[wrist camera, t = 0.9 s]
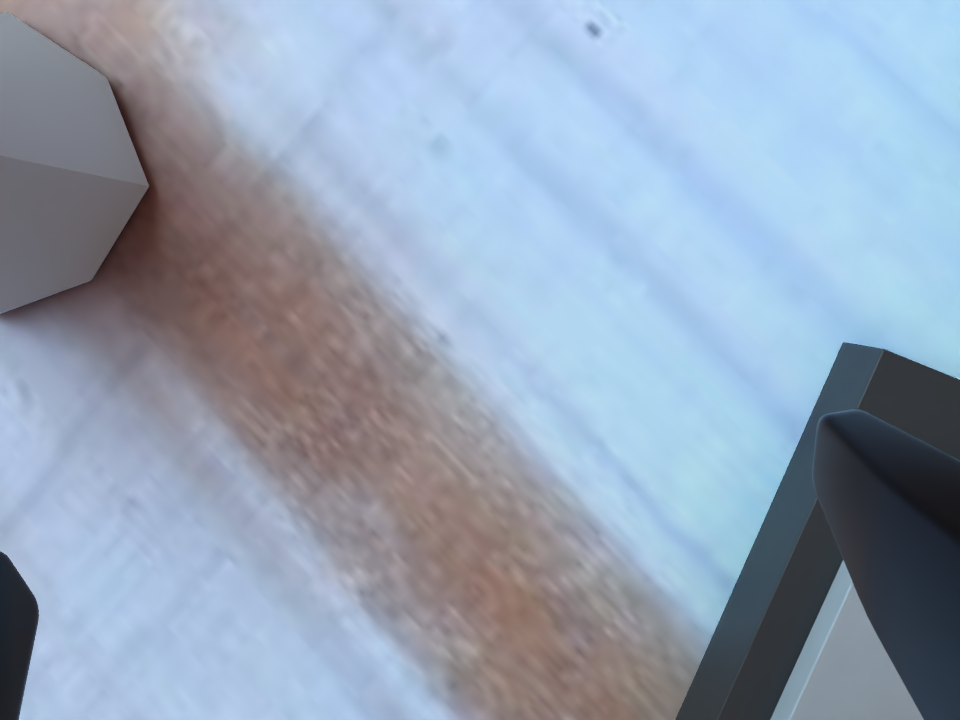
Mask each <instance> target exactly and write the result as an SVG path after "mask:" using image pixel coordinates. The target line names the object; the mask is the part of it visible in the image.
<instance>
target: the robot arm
mask: <svg viewBox="0 0 960 720" xmlns="http://www.w3.org/2000/svg"><path fill="white" fill-rule="evenodd" d="M812 477H813V484H814V488H815V491H816V494H817V497H818V499H819V502H820V504H821V507H822V509H823V511H824V514H825V516H826V519H827V521H828V524H829V526H830V528H831V531H832V533H833V536H834V538H835V541H836V543H837V545H838V548H839V550H840V553H841V555H842V558H843V560H844V562H845V565H846V567H847V570H848V572H849V575H850V577H851V579H852V582H853V584H854V587H855V589H856V592H857V594H858V596H859V599H860V601H861V603H862V605H863V608H864V610H865V612H866V615H867V617H868V619H869V620H870V622H871V624H872V626H873V628H874V630H875V632H876V634H877V636H878V638H879V640H880V641H881V643H882V645H883V647H884V649H885V650H886V652H887V654H888V656H889V658H890V659H891V661H892V663H893V665H894V667H895V669H896V670H897V672H898V674H899V676H900V678H901V679H902V681H903V683H904V685H905V687H906V688H907V690H908V692H909V694H910V696H911V697H912V699H913V701H914V703H915V705H916V707H917V708H918V710H919V712H920V714H921V716H922V717H923V719H924V720H960V460H958V459H956V458H954V457H952V456H950V455H948V454H946V453H944V452H942V451H940V450H938V449H937V448H935V447H933V446H931V445H929V444H927V443H925V442H923V441H921V440H919V439H917V438H915V437H913V436H911V435H909V434H908V433H906V432H904V431H902V430H900V429H898V428H896V427H894V426H892V425H890V424H888V423H886V422H884V421H882V420H881V419H879V418H877V417H875V416H873V415H871V414H869V413H867V412H865V411H862V410H858V409H852V410H846V411H840V412H834V413H828V414H825V415H823V416H822V417H821V418H820V419H819V421H818V424H817V430H816V439H815V449H814V459H813V468H812ZM38 618H39V610H38V604H37V601H36V598H35V597H34V595H33V593H32V592H31V590H30V589H29V587H28V586H27V584H26V583H25V581H24V580H23V578H22V577H21V575H20V574H19V572H18V571H17V569H16V568H15V566H14V565H13V563H12V562H11V560H10V559H9V558H8V556H7V555H5V554H4V553H2V552H0V720H19V715H20V710H21V705H22V700H23V695H24V690H25V685H26V680H27V675H28V670H29V665H30V660H31V655H32V650H33V645H34V640H35V635H36V630H37V625H38Z"/></svg>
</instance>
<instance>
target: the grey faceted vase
mask: <svg viewBox="0 0 960 720" xmlns="http://www.w3.org/2000/svg"><path fill="white" fill-rule="evenodd" d="M148 187H149V185H148V182H147V179H146V177H145V174H144V172H143V169H142V167H141V164H140V161H139V159H138V156H137V154H136V151H135V149H134V146H133V144H132V141H131V138H130V136H129V133H128V131H127V128H126V126H125V123H124V120H123V118H122V115H121V113H120V110H119V108H118V105H117V103H116V100H115V97H114V95H113V92H112V90H111V87H110V85H109V82H108V79H107V77H105V76H104V75H102V74H101V73H99V72H98V71H96V70H95V69H93V68H92V67H90V66H89V65H87V64H86V63H84V62H83V61H81V60H80V59H78V58H77V57H75V56H74V55H72V54H71V53H69V52H68V51H66V50H65V49H63V48H62V47H60V46H58V45H57V44H55V43H54V42H52V41H51V40H49V39H48V38H46V37H45V36H43V35H42V34H40V33H39V32H37V31H36V30H34V29H33V28H31V27H30V26H28V25H27V24H25V23H24V22H22V21H21V20H19V19H18V18H16V17H15V16H13V15H11V14H10V13H8V12H6V13H0V314H1V313H4V312H7V311H10V310H12V309H15V308H18V307H20V306H23V305H26V304H29V303H31V302H34V301H37V300H40V299H42V298H45V297H48V296H51V295H53V294H56V293H59V292H61V291H64V290H67V289H70V288H72V287H75V286H78V285H81V284H83V283H86V282H89V281H92V279H93V277H94V276H95V274H96V272H97V271H98V269H99V267H100V266H101V264H102V263H103V261H104V259H105V258H106V256H107V254H108V253H109V251H110V249H111V248H112V246H113V245H114V243H115V241H116V240H117V238H118V236H119V235H120V233H121V231H122V230H123V228H124V227H125V225H126V223H127V222H128V220H129V218H130V217H131V215H132V213H133V212H134V210H135V209H136V207H137V205H138V204H139V202H140V200H141V199H142V197H143V195H144V194H145V192H146V191H147V189H148Z"/></svg>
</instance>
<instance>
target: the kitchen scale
mask: <svg viewBox="0 0 960 720" xmlns="http://www.w3.org/2000/svg"><path fill="white" fill-rule="evenodd" d="M852 409H858V410H862V411H865V412H867V413H869V414H871V415H873V416H875V417H877V418H879V419H881V420H882V421H884V422H886V423H888V424H890V425H892V426H894V427H896V428H898V429H900V430H902V431H904V432H906V433H908V434H909V435H911V436H913V437H915V438H917V439H919V440H921V441H923V442H925V443H927V444H929V445H931V446H933V447H935V448H937V449H938V450H940V451H942V452H944V453H946V454H948V455H950V456H952V457H954V458H956V459H958V460H960V380H959V379H956V378H954V377H951V376H949V375H946V374H944V373H942V372H939V371H937V370H934V369H932V368H929V367H927V366H924V365H922V364H919V363H917V362H915V361H912V360H910V359H907V358H905V357H902V356H900V355H897V354H895V353H892V352H890V351H887V350H885V349H880V348H874V347H868V346H862V345H857V344H851V343H843V344H842V346H841V349H840V351H839V353H838V355H837V358H836V360H835V362H834V364H833V367H832V369H831V371H830V373H829V376H828V378H827V380H826V382H825V385H824V387H823V389H822V391H821V394H820V396H819V398H818V400H817V403H816V405H815V407H814V409H813V412H812V414H811V416H810V418H809V421H808V423H807V425H806V427H805V430H804V432H803V434H802V436H801V439H800V441H799V443H798V445H797V448H796V450H795V452H794V454H793V457H792V459H791V461H790V463H789V466H788V468H787V470H786V472H785V475H784V477H783V479H782V481H781V484H780V486H779V488H778V490H777V493H776V495H775V497H774V499H773V502H772V504H771V506H770V508H769V511H768V513H767V515H766V517H765V520H764V522H763V524H762V526H761V529H760V531H759V533H758V535H757V538H756V540H755V542H754V544H753V547H752V549H751V551H750V553H749V556H748V558H747V560H746V562H745V565H744V567H743V569H742V571H741V574H740V576H739V578H738V580H737V583H736V585H735V587H734V589H733V592H732V594H731V596H730V598H729V601H728V603H727V605H726V607H725V610H724V612H723V614H722V616H721V619H720V621H719V623H718V625H717V628H716V630H715V632H714V634H713V637H712V639H711V641H710V643H709V646H708V648H707V650H706V652H705V655H704V657H703V659H702V661H701V664H700V666H699V668H698V670H697V673H696V675H695V677H694V679H693V682H692V684H691V686H690V688H689V691H688V693H687V695H686V697H685V700H684V702H683V704H682V707H681V709H680V711H679V713H678V716H677V718H676V720H924V719H923V717H922V716H921V714H920V712H919V710H918V708H917V707H916V705H915V703H914V701H913V699H912V697H911V696H910V694H909V692H908V690H907V688H906V687H905V685H904V683H903V681H902V679H901V678H900V676H899V674H898V672H897V670H896V669H895V667H894V665H893V663H892V661H891V659H890V658H889V656H888V654H887V652H886V650H885V649H884V647H883V645H882V643H881V641H880V640H879V638H878V636H877V634H876V632H875V630H874V628H873V626H872V624H871V622H870V620H869V619H868V617H867V615H866V612H865V610H864V608H863V605H862V603H861V601H860V599H859V596H858V594H857V592H856V589H855V587H854V584H853V582H852V579H851V577H850V575H849V572H848V570H847V567H846V565H845V562H844V560H843V558H842V555H841V553H840V550H839V548H838V545H837V543H836V541H835V538H834V536H833V533H832V531H831V528H830V526H829V524H828V521H827V519H826V516H825V514H824V511H823V509H822V507H821V504H820V502H819V499H818V497H817V494H816V491H815V488H814V484H813V477H812V468H813V459H814V449H815V439H816V430H817V424H818V421H819V419H820V418H821V417H822V416H823V415H825V414H828V413H834V412H840V411H846V410H852Z"/></svg>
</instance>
